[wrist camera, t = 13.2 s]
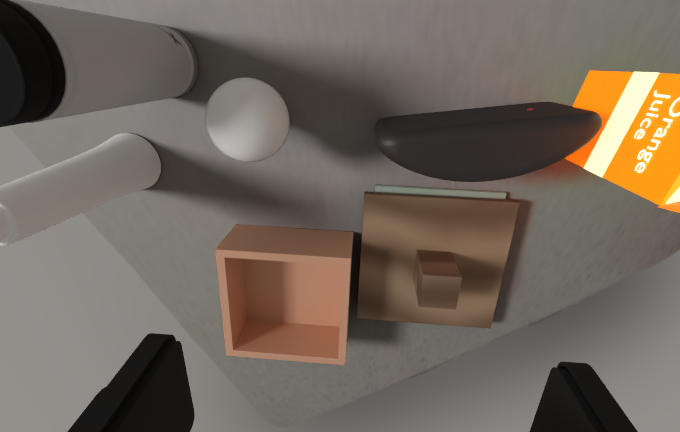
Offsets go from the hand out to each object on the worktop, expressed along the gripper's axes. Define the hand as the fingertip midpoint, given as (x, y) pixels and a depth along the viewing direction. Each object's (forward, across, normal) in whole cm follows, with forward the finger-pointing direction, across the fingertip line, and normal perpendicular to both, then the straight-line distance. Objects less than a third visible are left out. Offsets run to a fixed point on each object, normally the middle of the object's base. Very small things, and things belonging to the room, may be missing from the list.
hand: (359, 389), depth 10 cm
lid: (+29, -8, +12) cm, 32 cm away
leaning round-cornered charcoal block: (+30, -9, -2) cm, 31 cm away
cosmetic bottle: (+30, +24, +3) cm, 39 cm away
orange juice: (+30, -23, -2) cm, 38 cm away
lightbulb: (+30, +9, -2) cm, 31 cm away
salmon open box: (+29, +7, +16) cm, 34 cm away
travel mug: (+30, +19, -7) cm, 36 cm away
